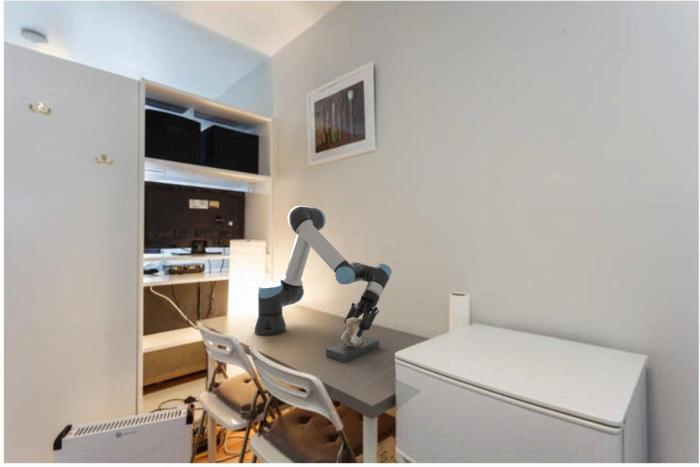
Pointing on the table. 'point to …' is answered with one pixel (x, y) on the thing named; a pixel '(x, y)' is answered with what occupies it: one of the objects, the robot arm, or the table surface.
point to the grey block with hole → (352, 349)
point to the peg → (352, 331)
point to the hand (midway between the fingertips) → (347, 341)
